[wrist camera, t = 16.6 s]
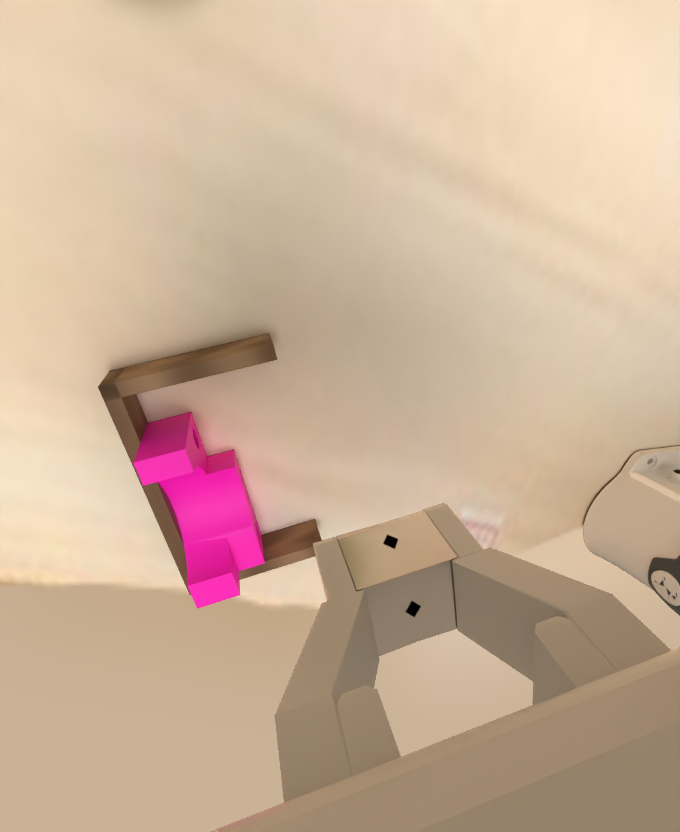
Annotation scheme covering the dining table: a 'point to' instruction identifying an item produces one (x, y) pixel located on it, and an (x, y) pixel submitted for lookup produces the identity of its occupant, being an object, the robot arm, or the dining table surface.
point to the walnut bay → (132, 423)
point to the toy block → (203, 506)
